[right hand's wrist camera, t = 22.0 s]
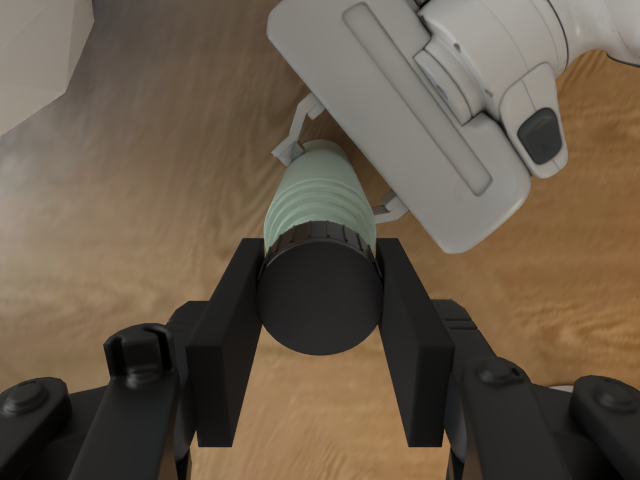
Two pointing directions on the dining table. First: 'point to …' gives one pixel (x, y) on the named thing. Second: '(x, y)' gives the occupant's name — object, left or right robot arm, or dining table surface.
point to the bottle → (320, 194)
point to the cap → (320, 289)
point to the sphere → (38, 53)
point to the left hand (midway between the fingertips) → (311, 195)
